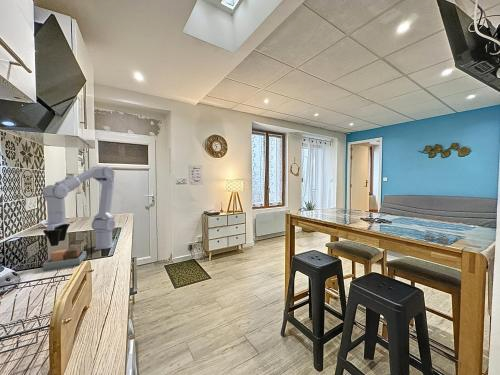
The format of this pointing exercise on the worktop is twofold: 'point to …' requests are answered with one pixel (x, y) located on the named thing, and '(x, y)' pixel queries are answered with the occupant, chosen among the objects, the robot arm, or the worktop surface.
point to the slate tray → (64, 262)
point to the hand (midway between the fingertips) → (58, 243)
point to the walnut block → (73, 253)
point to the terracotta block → (58, 255)
